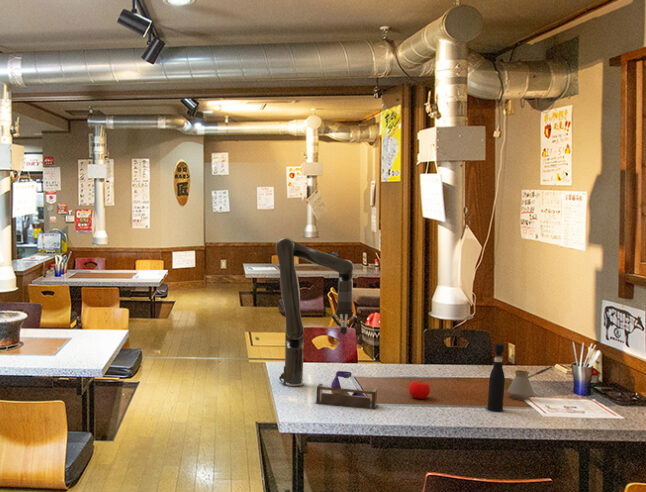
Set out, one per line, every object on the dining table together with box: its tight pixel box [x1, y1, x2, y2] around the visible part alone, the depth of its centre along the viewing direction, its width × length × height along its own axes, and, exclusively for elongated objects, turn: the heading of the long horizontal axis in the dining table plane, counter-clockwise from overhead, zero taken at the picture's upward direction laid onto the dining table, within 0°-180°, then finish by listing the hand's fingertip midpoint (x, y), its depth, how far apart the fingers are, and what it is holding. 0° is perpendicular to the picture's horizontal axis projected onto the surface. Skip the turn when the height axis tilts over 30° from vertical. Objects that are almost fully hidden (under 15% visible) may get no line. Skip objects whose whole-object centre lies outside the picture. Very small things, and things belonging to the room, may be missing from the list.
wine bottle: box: [486, 343, 506, 413], centre depth 338 cm, size 6×6×30 cm
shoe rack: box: [315, 383, 378, 410], centre depth 350 cm, size 26×7×8 cm, turn 69°
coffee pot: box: [506, 366, 555, 401], centre depth 359 cm, size 21×12×15 cm, turn 97°
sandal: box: [330, 370, 372, 404], centre depth 353 cm, size 8×20×15 cm, turn 89°
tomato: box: [408, 380, 431, 400], centre depth 360 cm, size 9×10×8 cm
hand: (343, 334), depth 378 cm, fingers closed
